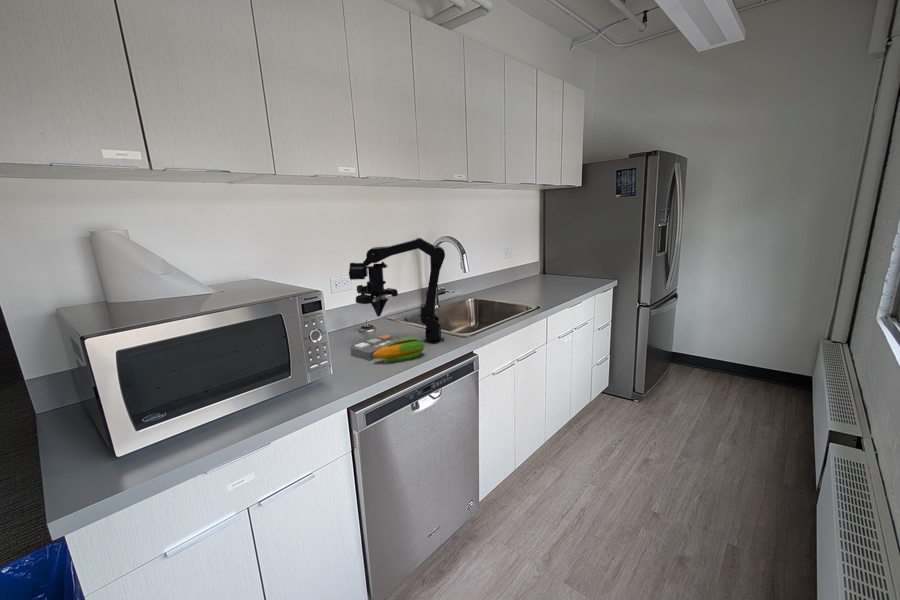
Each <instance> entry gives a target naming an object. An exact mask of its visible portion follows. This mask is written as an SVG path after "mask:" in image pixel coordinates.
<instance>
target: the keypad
mask: <svg viewBox="0 0 900 600" xmlns="http://www.w3.org/2000/svg"><path fill="white" fill-rule="evenodd" d="M375 338H376V339H378V337H375ZM399 339H400V338H399V337H394V336H392V339H389V340H386V341H382V340H381V341H382V342H381V343H379V344H376V345H370V347H368V348H365V349H363V350H360V349H356V348H355V347H354V346H351V347H350V348H349V349H350V355H351V356H353V357H357V358H360V359H363V360H368V361H372V360H375V359H376V358H375V357H374V356H373V354H374V352H375V351H377V350H379V349H381V348H383V347H385V346H388V345H391V344H394V343H398V342H394V343H390V344H387V343H389V342H391V341H395V340H399ZM400 342H403V341H400ZM364 343H366V341H365V342H364Z"/></svg>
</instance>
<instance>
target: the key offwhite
mask: <svg viewBox="0 0 900 600" xmlns="http://www.w3.org/2000/svg"><path fill="white" fill-rule="evenodd" d="M353 347H355V348H356V349H360V350H363V349H365V348H368V347H370V344H368V343H364V342H360V343H356V344H355V345H354V346H353Z"/></svg>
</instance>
